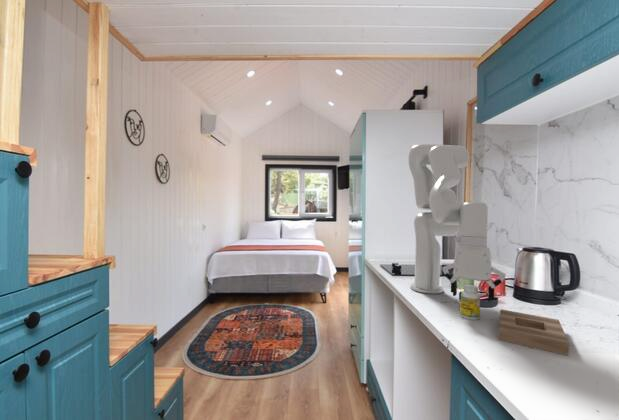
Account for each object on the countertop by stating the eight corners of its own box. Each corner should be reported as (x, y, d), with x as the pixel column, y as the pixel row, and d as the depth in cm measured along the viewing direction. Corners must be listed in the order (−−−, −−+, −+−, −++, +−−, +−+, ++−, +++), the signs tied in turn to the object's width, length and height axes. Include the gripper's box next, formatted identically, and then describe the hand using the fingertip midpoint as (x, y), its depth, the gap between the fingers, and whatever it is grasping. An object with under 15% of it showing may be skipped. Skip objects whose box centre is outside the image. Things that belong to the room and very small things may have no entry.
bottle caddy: (500, 318, 95) (500, 309, 95) (558, 330, 87) (558, 319, 87) (498, 339, 80) (498, 328, 80) (568, 355, 72) (569, 342, 72)
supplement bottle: (482, 317, 96) (483, 286, 95) (475, 321, 92) (477, 289, 92) (463, 312, 100) (465, 283, 99) (457, 316, 96) (458, 285, 96)
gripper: (440, 240, 97) (439, 295, 96) (506, 245, 87) (504, 305, 87) (444, 239, 103) (443, 290, 103) (506, 243, 94) (505, 299, 93)
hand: (471, 297), depth 95 cm, fingers open, 9 cm apart
